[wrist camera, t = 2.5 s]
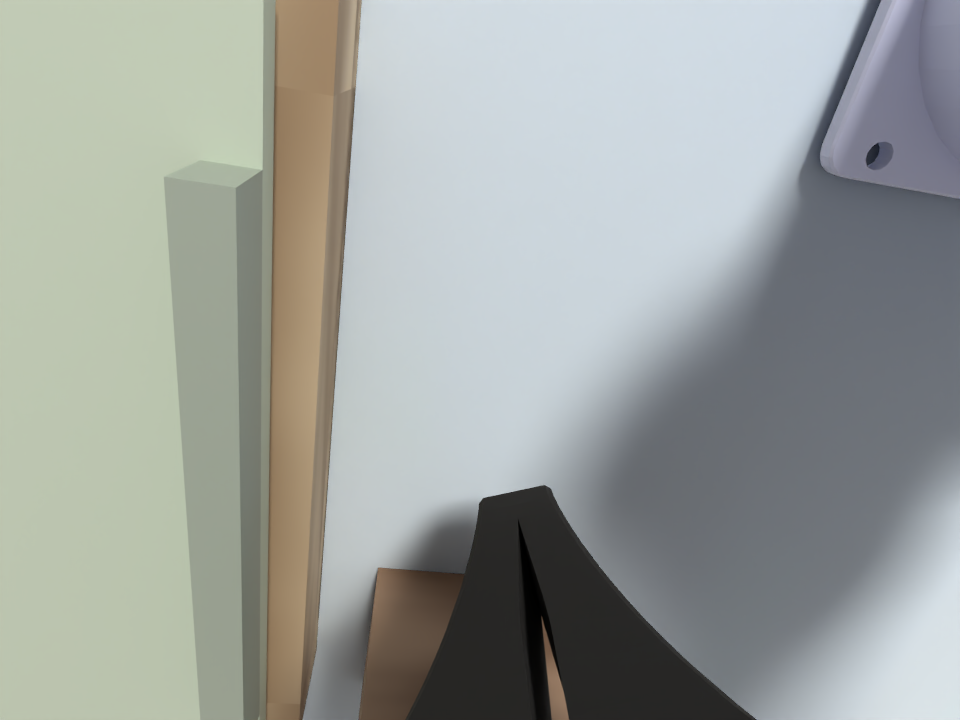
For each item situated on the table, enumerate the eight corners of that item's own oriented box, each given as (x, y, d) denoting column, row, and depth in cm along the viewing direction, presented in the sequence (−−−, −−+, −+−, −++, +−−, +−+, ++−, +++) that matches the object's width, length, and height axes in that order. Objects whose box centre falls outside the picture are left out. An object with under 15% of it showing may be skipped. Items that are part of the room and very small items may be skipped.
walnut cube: (552, 578, 17) (592, 763, 13) (517, 688, 19) (541, 876, 15) (378, 565, 16) (356, 756, 12) (363, 680, 19) (340, 876, 14)
